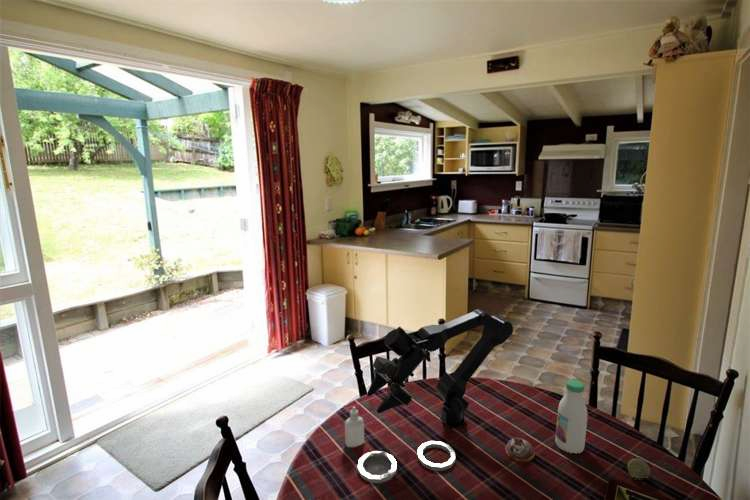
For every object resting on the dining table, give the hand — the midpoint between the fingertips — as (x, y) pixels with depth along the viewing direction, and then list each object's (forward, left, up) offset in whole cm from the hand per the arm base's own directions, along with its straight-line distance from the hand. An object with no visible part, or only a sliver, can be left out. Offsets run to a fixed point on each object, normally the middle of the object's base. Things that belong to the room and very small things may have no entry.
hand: (372, 403), depth 119 cm
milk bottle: (-51, +26, -12) cm, 59 cm away
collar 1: (+4, +11, -12) cm, 17 cm away
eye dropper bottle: (+6, -1, -12) cm, 13 cm away
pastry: (-36, +23, -12) cm, 44 cm away
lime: (-57, +42, -12) cm, 72 cm away
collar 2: (-13, +14, -12) cm, 23 cm away
